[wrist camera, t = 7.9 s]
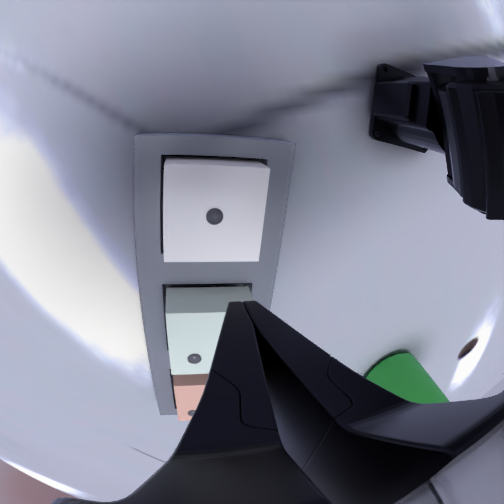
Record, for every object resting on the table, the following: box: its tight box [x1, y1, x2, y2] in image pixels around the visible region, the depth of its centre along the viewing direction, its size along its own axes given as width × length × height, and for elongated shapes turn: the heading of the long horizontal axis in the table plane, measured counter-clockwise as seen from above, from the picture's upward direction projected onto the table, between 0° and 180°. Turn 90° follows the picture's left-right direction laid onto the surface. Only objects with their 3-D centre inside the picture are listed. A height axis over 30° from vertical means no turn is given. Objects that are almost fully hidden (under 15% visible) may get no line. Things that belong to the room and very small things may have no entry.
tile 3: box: [173, 373, 209, 421], centre depth 26 cm, size 6×6×3 cm
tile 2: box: [166, 286, 253, 375], centre depth 21 cm, size 6×6×3 cm
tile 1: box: [163, 157, 270, 262], centre depth 19 cm, size 6×6×3 cm
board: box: [133, 133, 295, 415], centre depth 24 cm, size 10×27×2 cm, turn 174°
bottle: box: [366, 353, 450, 404], centre depth 26 cm, size 9×9×25 cm
